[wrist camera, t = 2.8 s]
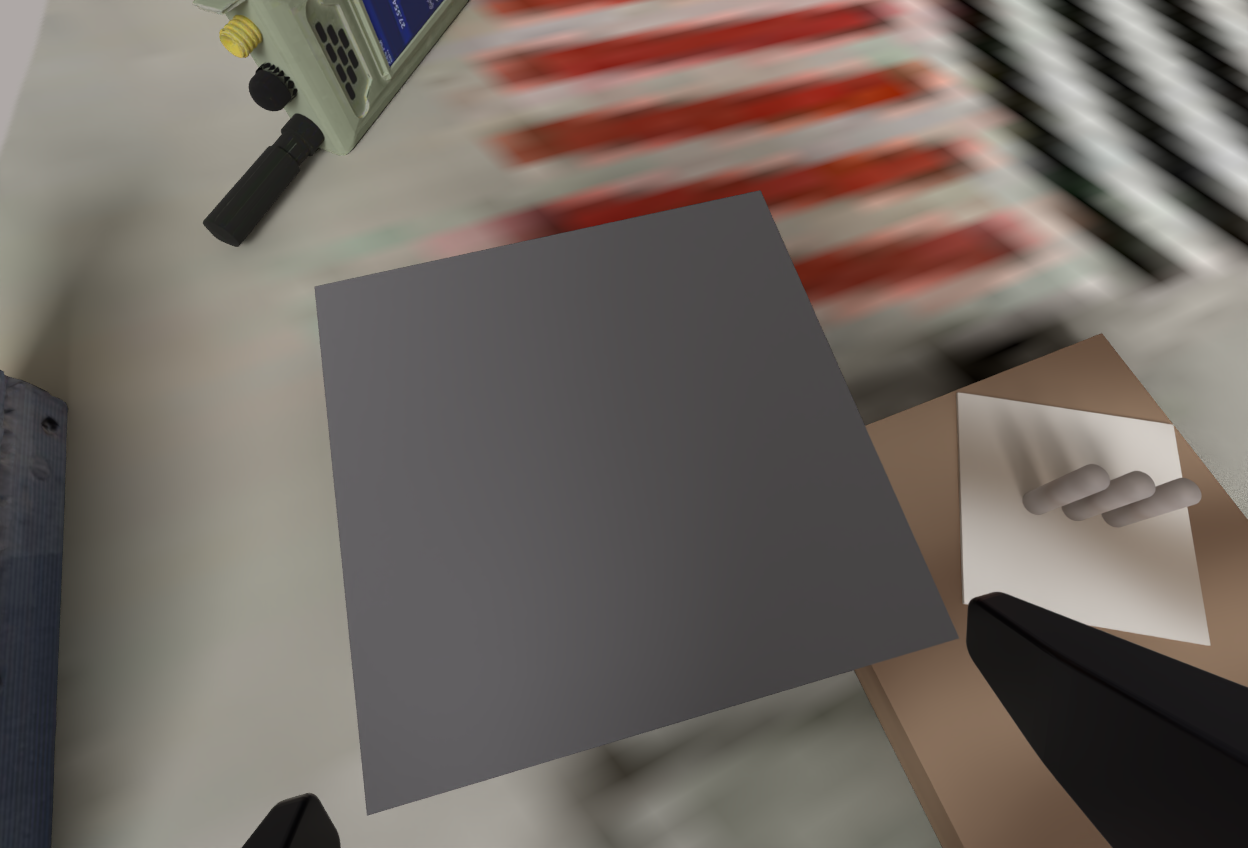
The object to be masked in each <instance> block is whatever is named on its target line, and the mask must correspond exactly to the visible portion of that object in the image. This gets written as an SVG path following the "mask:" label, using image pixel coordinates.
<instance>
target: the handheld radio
mask: <svg viewBox="0 0 1248 848" xmlns="http://www.w3.org/2000/svg"><path fill="white" fill-rule="evenodd" d="M468 1H469V0H194V1H193V3H192V4H193V5H195V6H198V8H199V9H202V10H204V11H208V12H212V13H216V14H222V15H223V14H226V16H227V17H228V19H229V20H230V21H229V23H228V24H226V25H225V26H224V28H223V29H221V30H220V33H219V34H220V41H221V42H222V44H223V45H224V47H225V48H226V49H227V50H228V51H229V52H231V53H232V54H233V55H235V56H237V57H240V58H242V57H244V58H246V57H248V56H249V53H250V54H251V56H252V57H253V59H254V61H255V62H256V64H257V65H258V67H259V68H258V69H257V70H256V74H255V75H254V76H253V77H252V78H251V80H250V82H249V92H250V94H251V97H252V98H253V100H254V101H255V102H256V103H257V104H258V105H259V106H261V107H262V108H264V109H266V110H269V111H279V110H281V109H283V108H284V109H285V110H286V112H287V113H288V115H289V117H290V118H291V119H290V120H289V121H288V122H287V123H286V124H285V126H284V127H283V128H282V129H281V133H282V135H281V136H280V137H279V138H278V139H277V141H276V142H275V143H274V144H273V145H272V146H269V147H268V148H267V149H266V150H265V151H264V152H263V153H262V155H261V156H260V157H259V158H258V159H257V160H256V161H255V163H254V164H253V165H252V166H251V167H250V168H249V169H248V171H247V172H246V173H245V174H244V175H243V176H242V177H241V179H240V180H239V181H238V182H237V183H236V184H235V185H234V187H233V188H232V189H231V190H230V191H229V192H228V193H227V195H226V196H225V197H224V198H223V199H222V200H221V202H220V203H219V204H218V205H217V206H216V207H215V208H214V210H213V211H212V212H211V213H210V214H209V215H208V216H207V218H206V219H205V220H204V221H203V224H204V226H205V227H206V228H207V229H208V230H209V231H210V232H211V233H212V234H213V235H214V236H215V237H216V238H217V239H219V240H220V241H223V242H225V243H227V244H230V245H232V246H235V247H238V246H239V245H240V244H241V243H242V242H243V240H244V239H245V238H246V237H247V236H248V234H249V233H250V232H251V231H252V229H253V228H254V227H255V226H256V224H257V223H258V222H259V221H260V219H261V218H262V217H263V216H264V214H265V213H266V212H267V211H268V210H269V208H270V207H271V206H272V205H273V203H274V202H275V201H276V200H277V198H278V197H279V196H280V195H281V193H282V192H283V191H284V190H285V189H286V187H287V186H288V185H289V184H290V182H291V181H292V180H293V179H294V177H295V176H296V175H297V174H298V172H299V171H300V168H299V166H300V164H301V163H302V162H303V161H304V160H305V158H306V157H307V156H312V155H313V154H314V153H315V151H316V150H317V149H318V148H321V149H323V150H326V151H329V152H331V153H334V154H336V155H339V156H341V155H347V154H348V153H349V152H350V151H351V150H352V149H353V148H354V147H355V145H356V144H357V143H358V141H359V140H360V139H361V138H362V136H363V135H364V134H365V133H366V131H367V130H368V129H369V127H370V126H371V125H372V124H373V122H374V121H375V120H376V118H377V117H378V116H379V115H380V113H381V112H382V111H383V109H384V108H385V107H386V106H387V104H388V103H389V102H390V101H391V99H392V98H393V97H394V95H395V94H396V93H397V92H398V90H399V89H400V88H401V86H402V85H403V84H404V83H405V81H406V80H407V79H408V78H409V76H410V75H411V74H412V72H413V71H414V70H415V69H416V67H417V66H418V65H419V63H420V62H421V61H422V60H423V58H424V57H425V56H426V54H427V53H428V52H429V51H430V49H431V48H432V47H433V46H434V44H435V43H436V42H437V40H438V39H439V38H440V37H441V35H442V34H443V33H444V31H445V30H446V29H447V28H448V26H449V25H450V24H451V23H452V21H453V20H454V19H455V17H456V16H457V15H458V14H459V12H460V11H461V10H462V8H463V7H464V6H465V5H466V3H467V2H468Z"/></svg>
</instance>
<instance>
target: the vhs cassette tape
mask: <svg viewBox="0 0 1248 848" xmlns="http://www.w3.org/2000/svg"><path fill="white" fill-rule="evenodd" d="M67 413H68V408H67V405H66V403H65V402H64V401H62V400H61V399H59V398H56V397H53V396H52V395H50V394H49V393H48V392H47V391H45V390H43V389H41V388H38V387H36V386H34V385H32V384H30V383H28V382H25V381H22V380H19V379H15V378H12V377H8V376H6V375H4V371H1V370H0V848H51V835H52V813H53V782H54V750H55V732H56V700H57V678H58V653H59V628H60V604H61V579H62V555H63V530H64V505H65V473H66V437H67Z"/></svg>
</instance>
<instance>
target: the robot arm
mask: <svg viewBox="0 0 1248 848" xmlns="http://www.w3.org/2000/svg"><path fill="white" fill-rule="evenodd" d="M966 645H967V650H968V652H969V655H970V657H971V659H972V661H973V662H974V664H975V665H976V667H977V668H978V669H979V671H980V672H981V674H982V675H983V677H984V678H985V680H986V681H987V683H988V684H989V686H990V687H991V689H992V690H993V691H994V693H995V694H996V696H997V697H998V699H999V700H1000V702H1001V703H1002V705H1003V706H1004V708H1005V709H1006V711H1007V712H1008V713H1009V715H1010V716H1011V718H1012V719H1013V721H1014V722H1015V724H1016V725H1017V727H1018V728H1019V730H1020V731H1021V733H1022V734H1023V735H1024V737H1025V738H1026V740H1027V741H1028V743H1029V744H1030V746H1031V747H1032V748H1033V750H1034V751H1035V753H1036V754H1037V755H1038V757H1039V758H1040V760H1041V761H1042V762H1043V764H1044V765H1045V766H1046V767H1047V769H1048V770H1049V771H1050V772H1051V774H1052V775H1053V776H1054V778H1055V779H1056V780H1057V781H1058V782H1059V784H1060V785H1061V786H1062V787H1063V789H1064V790H1065V791H1066V792H1067V793H1068V795H1069V796H1070V797H1071V798H1072V800H1073V801H1074V802H1075V803H1076V804H1077V806H1078V807H1079V808H1080V809H1081V810H1082V812H1083V813H1084V814H1085V815H1086V817H1087V818H1088V819H1089V820H1090V821H1091V823H1092V824H1093V825H1094V826H1095V827H1096V829H1097V830H1098V831H1099V832H1100V834H1101V835H1102V836H1103V837H1104V838H1105V840H1106V841H1107V842H1108V843H1109V844H1110V846H1111V847H1112V848H1248V687H1246V686H1243V685H1241V684H1238V683H1236V682H1233V681H1231V680H1228V679H1225V678H1223V677H1220V676H1218V675H1215V674H1212V673H1210V672H1207V671H1205V670H1202V669H1200V668H1197V667H1194V666H1192V665H1189V664H1187V663H1184V662H1182V661H1179V660H1176V659H1174V658H1171V657H1169V656H1166V655H1163V654H1161V653H1158V652H1156V651H1153V650H1151V649H1148V648H1145V647H1143V646H1140V645H1138V644H1135V643H1133V642H1130V641H1127V640H1125V639H1122V638H1120V637H1117V636H1114V635H1112V634H1109V633H1107V632H1104V631H1102V630H1099V629H1096V628H1094V627H1091V626H1089V625H1086V624H1084V623H1081V622H1078V621H1076V620H1073V619H1071V618H1068V617H1065V616H1063V615H1060V614H1058V613H1055V612H1053V611H1050V610H1047V609H1045V608H1042V607H1040V606H1037V605H1035V604H1032V603H1029V602H1027V601H1024V600H1022V599H1019V598H1016V597H1014V596H1011V595H1009V594H1006V593H1003V592H992V593H988V594H985V595H981V596H978V597H975V598H973V599H971V600H970V602H969V604H968V611H967V630H966ZM242 848H341V846H340V838H339V835H338V832H337V830H336V828H335V826H334V824H333V823H332V821H331V819H330V818H329V816H328V814H327V812H326V811H325V809H324V807H323V805H322V804H321V802H320V800H319V799H318V797H317V796H316V795H314V794H312V793H306V794H303V795H299V796H296V797H292V798H289V799H286V800H283V801H281V802H279V803H278V804H276V805H275V806H274V807H273V808H272V809H271V811H270V812H269V813H268V815H267V816H266V817H265V818H264V820H263V821H262V822H261V824H260V825H259V826H258V827H257V829H256V830H255V831H254V832H253V834H252V835H251V836H250V838H249V839H248V840H247V841H246V843H245V844H244V845H243V847H242Z"/></svg>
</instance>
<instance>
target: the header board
mask: <svg viewBox="0 0 1248 848" xmlns="http://www.w3.org/2000/svg"><path fill="white" fill-rule="evenodd" d="M865 427H866V429H867V431H868V434H869V436H870V438H871V440H872V443H873V445H874V447H875V449H876V452H877V454H878V456H879V458H880V461H881V463H882V465H883V467H884V470H885V472H886V474H887V476H888V479H889V481H890V483H891V485H892V488H893V490H894V492H895V494H896V497H897V499H898V501H899V503H900V506H901V508H902V510H903V512H904V515H905V517H906V519H907V521H908V524H909V526H910V528H911V530H912V533H913V535H914V537H915V539H916V542H917V544H918V546H919V548H920V551H921V553H922V555H923V557H924V560H925V562H926V564H927V566H928V569H929V571H930V573H931V575H932V578H933V580H934V582H935V584H936V587H937V589H938V591H939V593H940V596H941V598H942V600H943V602H944V605H945V607H946V609H947V611H948V614H949V616H950V618H951V620H952V623H953V625H954V627H955V629H956V632H957V634H958V636H959V639H955V640H952V641H949V642H945V643H942V644H939V645H935V646H932V647H929V648H925V649H922V650H919V651H915V652H912V653H909V654H905V655H902V656H899V657H895V658H892V659H889V660H885V661H882V662H879V663H875V664H872V665H869V666H865V667H862V668H859V669H855V670H854V671H855V673H856V675H857V677H858V679H859V681H860V683H861V685H862V687H863V689H864V691H865V693H866V695H867V697H868V699H869V701H870V703H871V705H872V707H873V709H874V711H875V713H876V715H877V717H878V719H879V721H880V723H881V725H882V727H883V729H884V731H885V733H886V735H887V737H888V739H889V741H890V743H891V745H892V747H893V749H894V751H895V753H896V755H897V757H898V759H899V761H900V763H901V765H902V767H903V769H904V771H905V773H906V775H907V777H908V779H909V781H910V783H911V785H912V787H913V789H914V791H915V793H916V795H917V797H918V799H919V801H920V803H921V805H922V807H923V809H924V811H925V813H926V815H927V817H928V819H929V821H930V823H931V825H932V827H933V829H934V831H935V833H936V835H937V837H938V839H939V841H940V843H941V845H942V847H943V848H1112V847H1111V846H1110V844H1109V843H1108V842H1107V841H1106V840H1105V838H1104V837H1103V836H1102V835H1101V834H1100V832H1099V831H1098V830H1097V829H1096V827H1095V826H1094V825H1093V824H1092V823H1091V821H1090V820H1089V819H1088V818H1087V817H1086V815H1085V814H1084V813H1083V812H1082V810H1081V809H1080V808H1079V807H1078V806H1077V804H1076V803H1075V802H1074V801H1073V800H1072V798H1071V797H1070V796H1069V795H1068V793H1067V792H1066V791H1065V790H1064V789H1063V787H1062V786H1061V785H1060V784H1059V782H1058V781H1057V780H1056V779H1055V778H1054V776H1053V775H1052V774H1051V772H1050V771H1049V770H1048V769H1047V767H1046V766H1045V765H1044V764H1043V762H1042V761H1041V760H1040V758H1039V757H1038V755H1037V754H1036V753H1035V751H1034V750H1033V748H1032V747H1031V746H1030V744H1029V743H1028V741H1027V740H1026V738H1025V737H1024V735H1023V734H1022V733H1021V731H1020V730H1019V728H1018V727H1017V725H1016V724H1015V722H1014V721H1013V719H1012V718H1011V716H1010V715H1009V713H1008V712H1007V711H1006V709H1005V708H1004V706H1003V705H1002V703H1001V702H1000V700H999V699H998V697H997V696H996V694H995V693H994V691H993V690H992V689H991V687H990V686H989V684H988V683H987V681H986V680H985V678H984V677H983V675H982V674H981V672H980V671H979V669H978V668H977V667H976V665H975V664H974V662H973V661H972V659H971V657H970V655H969V652H968V650H967V645H966V630H967V611H968V604H969V602H970V600H971V599H973V598H975V597H978V596H981V595H985V594H988V593H992V592H1003V593H1006V594H1009V595H1011V596H1014V597H1016V598H1019V599H1022V600H1024V601H1027V602H1029V603H1032V604H1035V605H1037V606H1040V607H1042V608H1045V609H1047V610H1050V611H1053V612H1055V613H1058V614H1060V615H1063V616H1065V617H1068V618H1071V619H1073V620H1076V621H1078V622H1081V623H1084V624H1086V625H1089V626H1091V627H1094V628H1096V629H1099V630H1102V631H1104V632H1107V633H1109V634H1112V635H1114V636H1117V637H1120V638H1122V639H1125V640H1127V641H1130V642H1133V643H1135V644H1138V645H1140V646H1143V647H1145V648H1148V649H1151V650H1153V651H1156V652H1158V653H1161V654H1163V655H1166V656H1169V657H1171V658H1174V659H1176V660H1179V661H1182V662H1184V663H1187V664H1189V665H1192V666H1194V667H1197V668H1200V669H1202V670H1205V671H1207V672H1210V673H1212V674H1215V675H1218V676H1220V677H1223V678H1225V679H1228V680H1231V681H1233V682H1236V683H1238V684H1241V685H1243V686H1246V687H1248V520H1247V518H1246V517H1245V516H1244V514H1243V513H1242V512H1241V511H1240V509H1239V508H1238V507H1237V505H1236V504H1235V503H1234V502H1233V500H1232V499H1231V498H1230V496H1229V495H1228V494H1227V493H1226V491H1225V490H1224V489H1223V488H1222V486H1221V485H1220V484H1219V482H1218V481H1217V480H1216V479H1215V477H1214V476H1213V475H1212V473H1211V472H1210V471H1209V470H1208V468H1207V467H1206V466H1205V465H1204V463H1203V462H1202V461H1201V459H1200V458H1199V457H1198V456H1197V454H1196V453H1195V452H1194V450H1193V449H1192V448H1191V447H1190V445H1189V444H1188V443H1187V442H1186V440H1185V439H1184V438H1183V436H1182V435H1181V434H1180V433H1179V431H1178V430H1177V429H1176V427H1175V426H1174V425H1173V424H1172V422H1171V421H1170V420H1169V418H1168V417H1167V416H1166V415H1165V413H1164V412H1163V411H1162V410H1161V408H1160V407H1159V406H1158V404H1157V403H1156V402H1155V401H1154V399H1153V398H1152V397H1151V395H1150V394H1149V393H1148V392H1147V390H1146V389H1145V388H1144V387H1143V385H1142V384H1141V383H1140V381H1139V380H1138V379H1137V378H1136V376H1135V375H1134V374H1133V372H1132V371H1131V370H1130V369H1129V367H1128V366H1127V365H1126V364H1125V362H1124V361H1123V360H1122V358H1121V357H1120V356H1119V355H1118V353H1117V352H1116V351H1115V349H1114V348H1113V347H1112V346H1111V344H1110V343H1109V342H1108V341H1107V339H1106V338H1105V337H1104V335H1103V334H1102V333H1101V334H1099V335H1096V336H1093V337H1091V338H1088V339H1086V340H1083V341H1081V342H1078V343H1076V344H1073V345H1070V346H1068V347H1065V348H1063V349H1060V350H1058V351H1055V352H1053V353H1050V354H1047V355H1045V356H1042V357H1040V358H1037V359H1035V360H1032V361H1030V362H1027V363H1024V364H1022V365H1019V366H1017V367H1014V368H1012V369H1009V370H1007V371H1004V372H1001V373H999V374H996V375H994V376H991V377H989V378H986V379H984V380H981V381H978V382H976V383H973V384H971V385H968V386H966V387H963V388H961V389H958V390H955V391H953V392H950V393H948V394H945V395H943V396H940V397H938V398H935V399H932V400H930V401H927V402H925V403H922V404H920V405H917V406H915V407H912V408H909V409H907V410H904V411H902V412H899V413H897V414H894V415H892V416H889V417H886V418H884V419H881V420H879V421H876V422H874V423H871V424H868V425H866V426H865Z"/></svg>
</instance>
